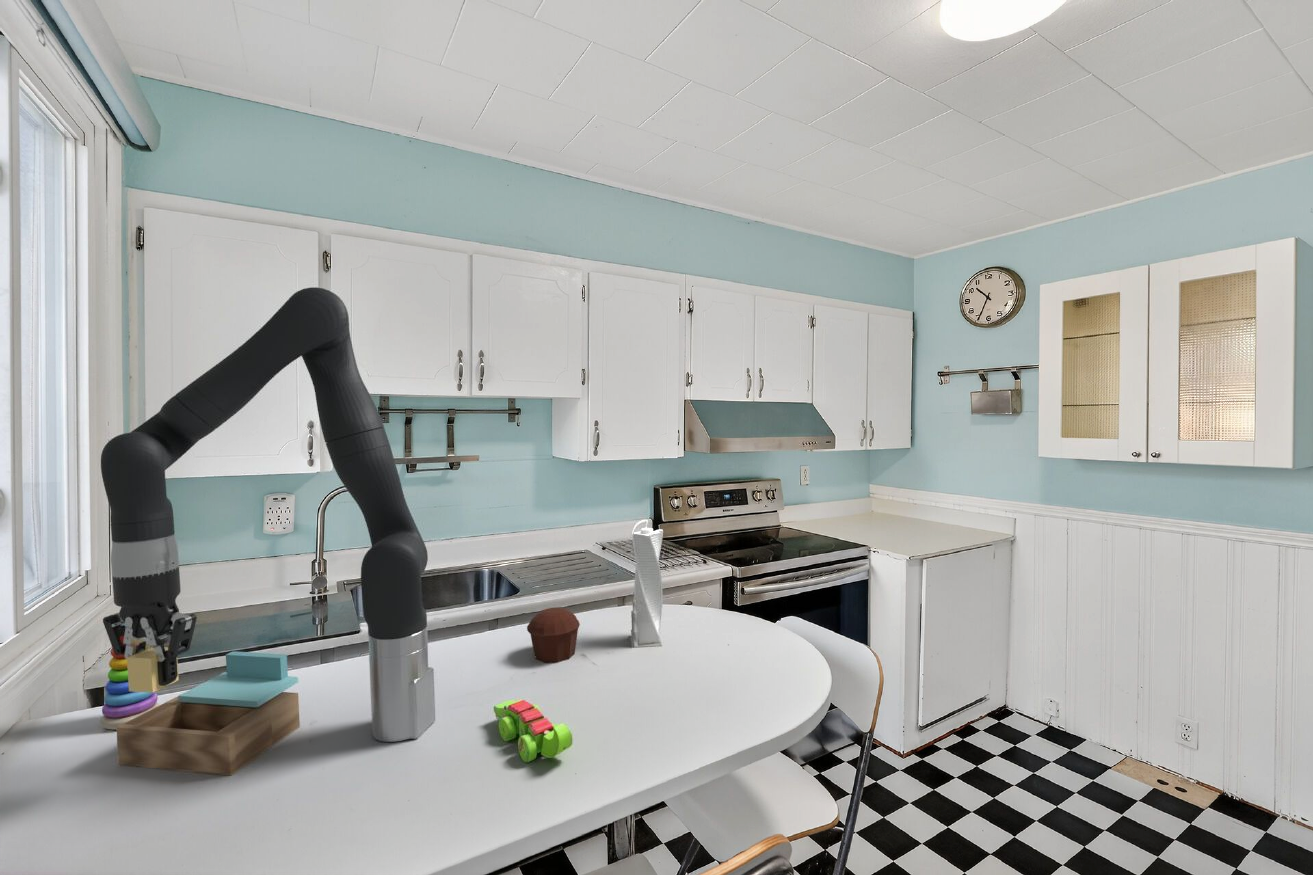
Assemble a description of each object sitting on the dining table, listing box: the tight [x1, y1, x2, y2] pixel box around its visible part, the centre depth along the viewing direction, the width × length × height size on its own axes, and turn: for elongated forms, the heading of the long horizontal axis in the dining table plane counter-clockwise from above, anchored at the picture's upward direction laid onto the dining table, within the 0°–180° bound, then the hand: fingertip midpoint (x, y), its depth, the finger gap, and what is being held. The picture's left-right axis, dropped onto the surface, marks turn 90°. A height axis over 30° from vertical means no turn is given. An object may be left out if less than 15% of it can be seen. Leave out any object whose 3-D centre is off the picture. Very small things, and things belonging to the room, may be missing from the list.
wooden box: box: [115, 691, 301, 777], centre depth 100 cm, size 20×14×6 cm
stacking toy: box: [100, 636, 160, 730], centre depth 108 cm, size 8×8×19 cm
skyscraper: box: [629, 519, 664, 649], centre depth 141 cm, size 8×8×28 cm
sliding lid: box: [177, 650, 299, 707], centre depth 105 cm, size 15×9×5 cm, turn 81°
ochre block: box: [127, 646, 179, 693], centre depth 90 cm, size 4×4×5 cm
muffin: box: [526, 606, 581, 664], centre depth 134 cm, size 12×11×10 cm
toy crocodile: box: [493, 698, 573, 763], centre depth 99 cm, size 20×7×6 cm, turn 38°
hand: (154, 681), depth 90 cm, fingers closed on ochre block, 4 cm apart
